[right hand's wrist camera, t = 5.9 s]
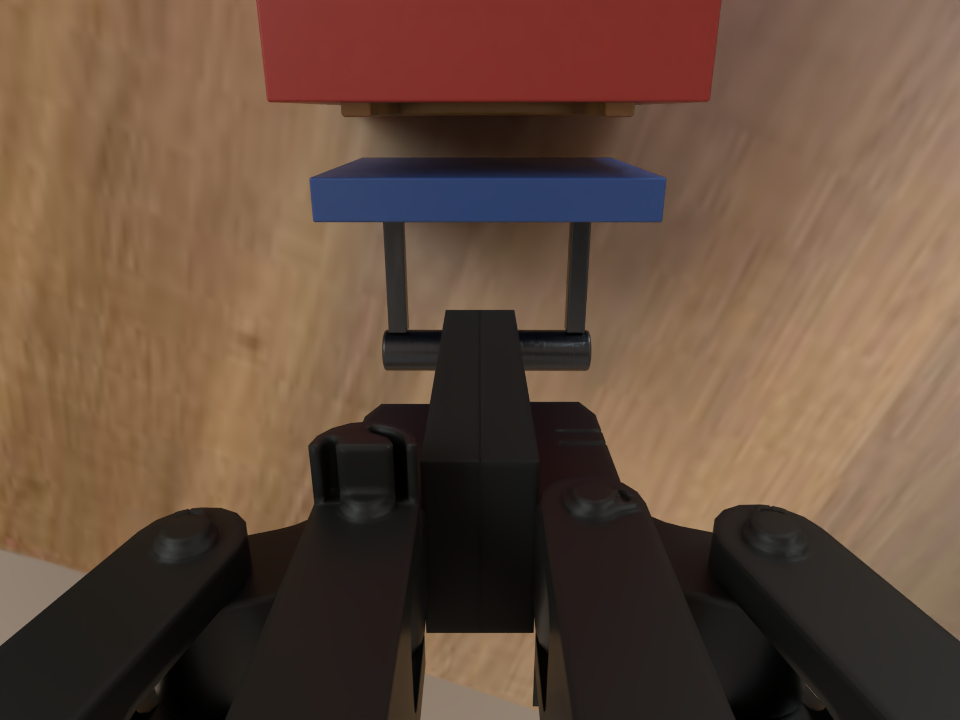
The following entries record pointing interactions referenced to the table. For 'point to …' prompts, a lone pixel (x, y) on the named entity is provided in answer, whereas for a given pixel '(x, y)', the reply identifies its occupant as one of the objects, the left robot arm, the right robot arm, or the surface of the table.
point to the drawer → (488, 215)
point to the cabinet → (488, 50)
